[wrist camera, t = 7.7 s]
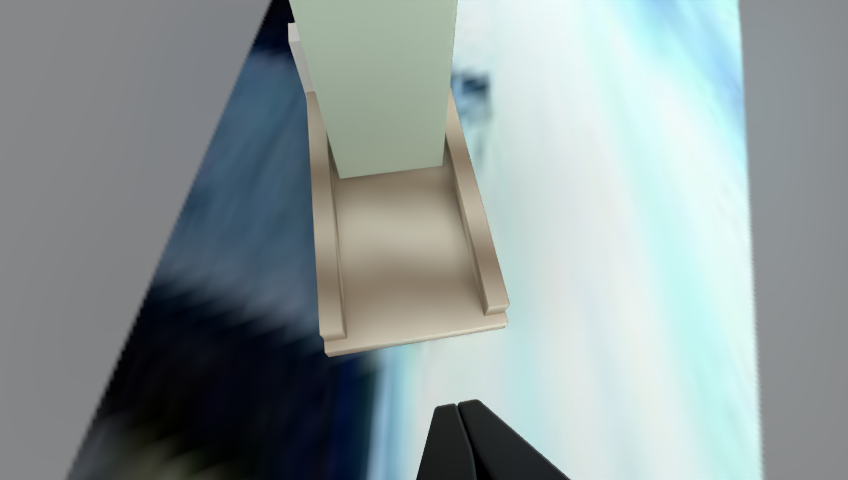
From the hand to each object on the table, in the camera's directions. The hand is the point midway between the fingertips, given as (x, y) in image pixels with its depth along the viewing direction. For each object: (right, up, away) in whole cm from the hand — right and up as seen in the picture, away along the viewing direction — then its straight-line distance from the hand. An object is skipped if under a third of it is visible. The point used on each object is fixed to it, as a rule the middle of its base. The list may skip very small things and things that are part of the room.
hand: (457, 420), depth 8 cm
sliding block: (-3, +10, +17) cm, 20 cm away
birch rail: (-2, +6, +17) cm, 18 cm away
